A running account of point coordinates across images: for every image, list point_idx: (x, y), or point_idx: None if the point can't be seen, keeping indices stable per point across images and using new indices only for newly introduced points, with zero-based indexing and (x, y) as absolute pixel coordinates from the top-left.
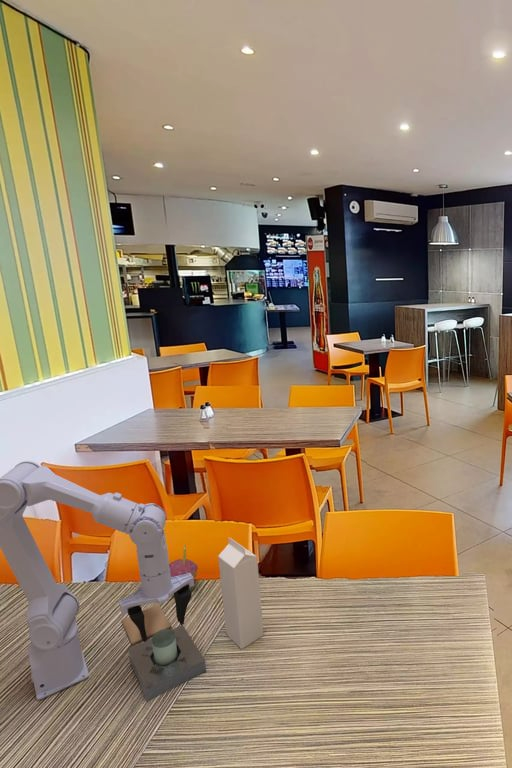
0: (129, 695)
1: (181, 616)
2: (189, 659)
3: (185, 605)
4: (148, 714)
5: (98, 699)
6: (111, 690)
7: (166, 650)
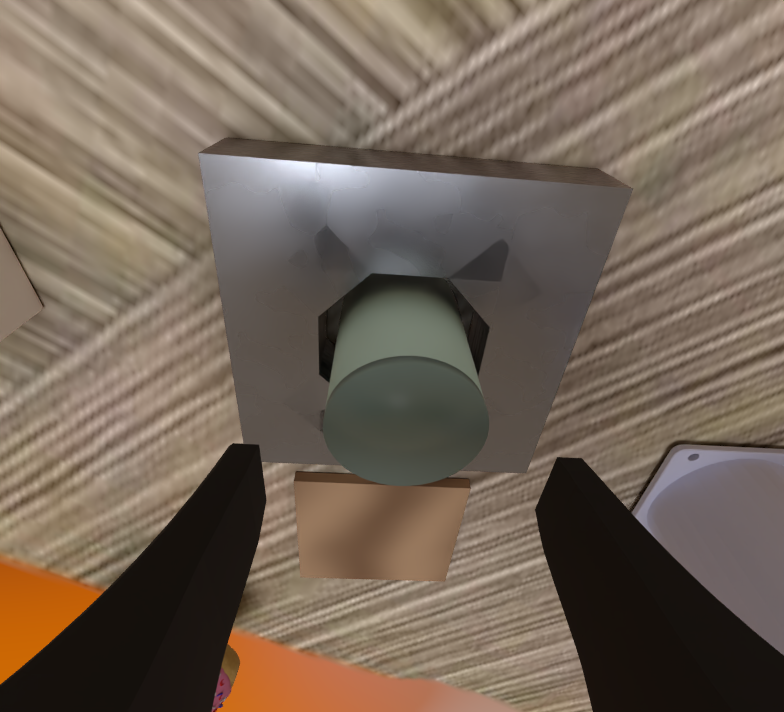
0: (629, 266)
1: (219, 515)
2: (296, 229)
3: (88, 644)
4: (649, 70)
5: (726, 332)
6: (660, 341)
7: (424, 338)
